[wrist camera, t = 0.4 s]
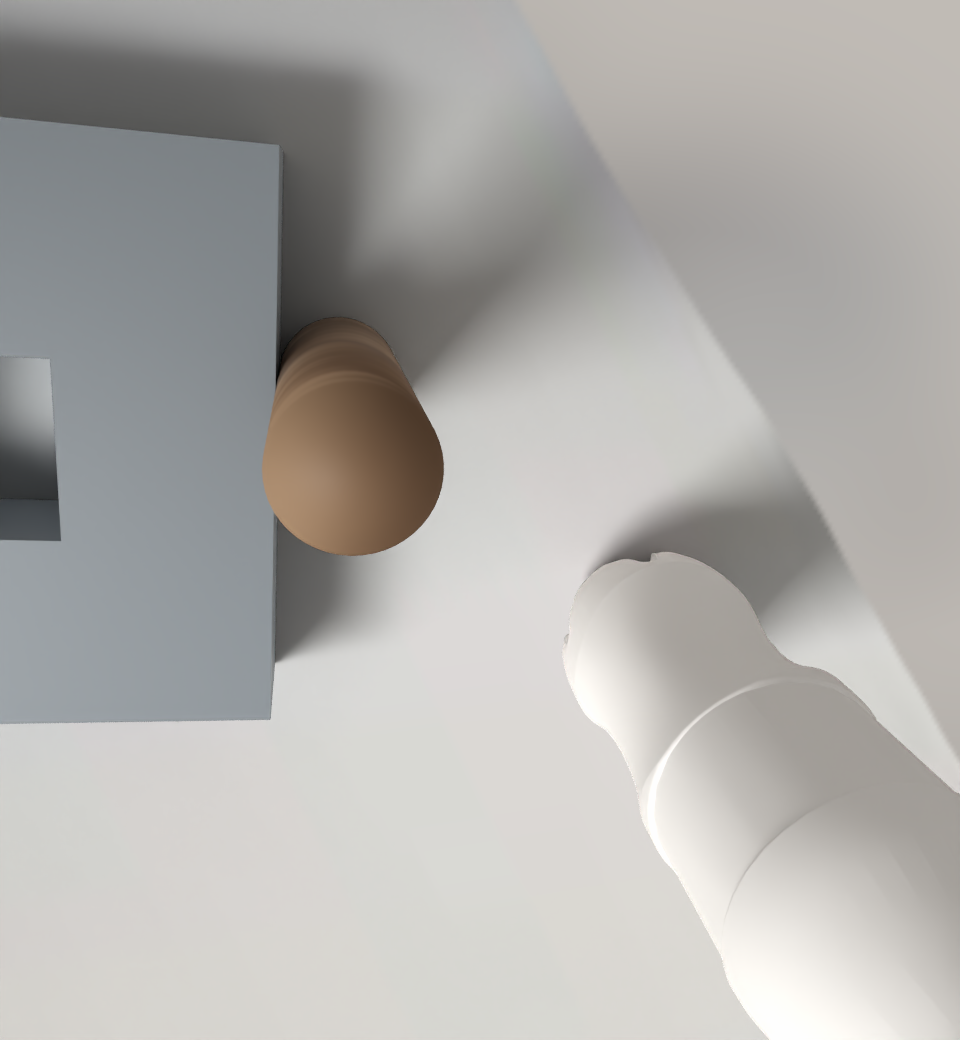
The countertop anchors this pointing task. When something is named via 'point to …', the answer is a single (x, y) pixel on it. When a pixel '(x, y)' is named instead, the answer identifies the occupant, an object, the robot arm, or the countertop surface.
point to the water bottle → (776, 807)
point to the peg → (348, 443)
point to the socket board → (142, 423)
